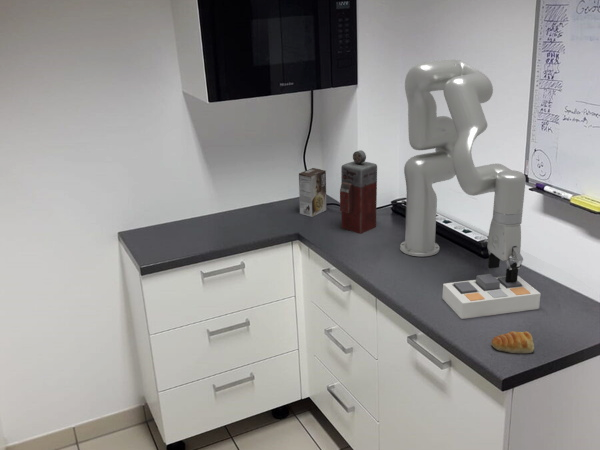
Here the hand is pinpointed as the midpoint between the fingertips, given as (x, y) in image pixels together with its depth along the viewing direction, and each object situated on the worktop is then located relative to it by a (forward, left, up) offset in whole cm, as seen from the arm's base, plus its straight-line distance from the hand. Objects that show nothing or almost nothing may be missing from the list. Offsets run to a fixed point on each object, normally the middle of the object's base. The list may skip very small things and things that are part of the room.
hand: (502, 274), depth 180 cm
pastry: (+28, -11, -6) cm, 31 cm away
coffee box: (-79, -36, -5) cm, 87 cm away
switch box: (+6, -7, -5) cm, 10 cm away
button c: (+4, 0, -4) cm, 6 cm away
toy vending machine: (-58, -25, -5) cm, 63 cm away
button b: (+4, -7, -2) cm, 8 cm away
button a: (+4, -13, -4) cm, 14 cm away
